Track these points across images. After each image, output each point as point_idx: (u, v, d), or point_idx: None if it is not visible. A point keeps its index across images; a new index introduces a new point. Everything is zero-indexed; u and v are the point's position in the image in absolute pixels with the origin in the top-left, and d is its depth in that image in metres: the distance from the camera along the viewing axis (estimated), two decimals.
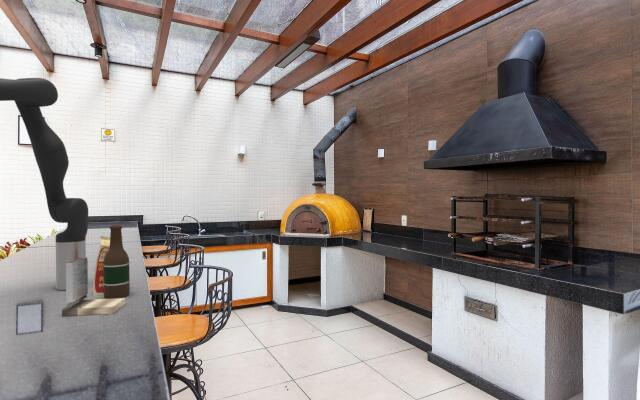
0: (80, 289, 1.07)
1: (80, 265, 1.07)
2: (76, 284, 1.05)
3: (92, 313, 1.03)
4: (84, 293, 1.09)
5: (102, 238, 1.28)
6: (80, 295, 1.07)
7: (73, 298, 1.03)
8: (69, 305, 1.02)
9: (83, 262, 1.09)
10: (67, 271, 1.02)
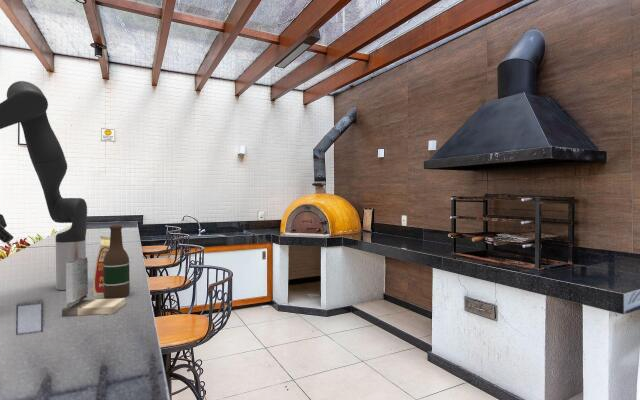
0: (80, 289, 1.07)
1: (80, 265, 1.07)
2: (76, 284, 1.05)
3: (92, 313, 1.03)
4: (84, 293, 1.09)
5: (102, 238, 1.28)
6: (80, 295, 1.07)
7: (73, 298, 1.03)
8: (69, 305, 1.02)
9: (83, 262, 1.09)
10: (67, 271, 1.02)
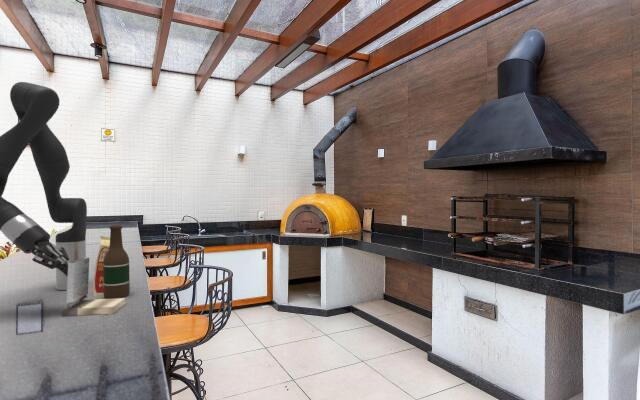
0: (81, 289, 1.07)
1: (82, 265, 1.07)
2: (77, 284, 1.05)
3: (92, 313, 1.03)
4: (84, 293, 1.09)
5: (102, 238, 1.28)
6: (80, 295, 1.07)
7: (73, 298, 1.03)
8: (69, 305, 1.02)
9: (85, 262, 1.09)
10: (69, 271, 1.02)
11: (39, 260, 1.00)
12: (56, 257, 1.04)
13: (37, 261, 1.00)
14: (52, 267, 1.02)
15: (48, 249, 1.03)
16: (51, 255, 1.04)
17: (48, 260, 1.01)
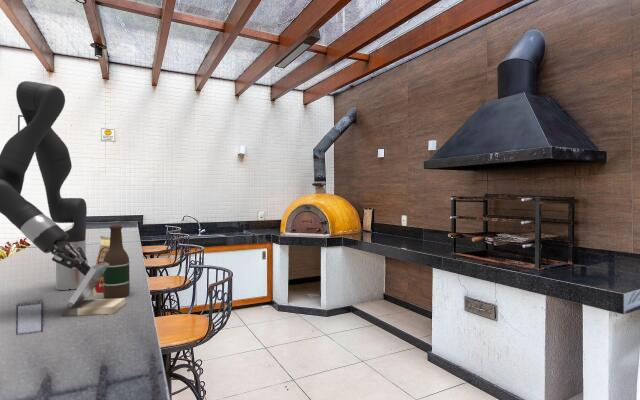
0: (86, 292, 1.07)
1: (100, 271, 1.08)
2: (86, 288, 1.05)
3: (92, 313, 1.03)
4: (86, 295, 1.09)
5: (102, 238, 1.28)
6: (83, 297, 1.07)
7: (76, 300, 1.03)
8: (69, 305, 1.02)
9: (104, 269, 1.10)
10: (87, 275, 1.03)
11: (58, 260, 1.01)
12: (74, 257, 1.05)
13: (56, 261, 1.00)
14: (71, 267, 1.03)
15: (67, 249, 1.04)
16: (69, 255, 1.04)
17: (67, 260, 1.02)
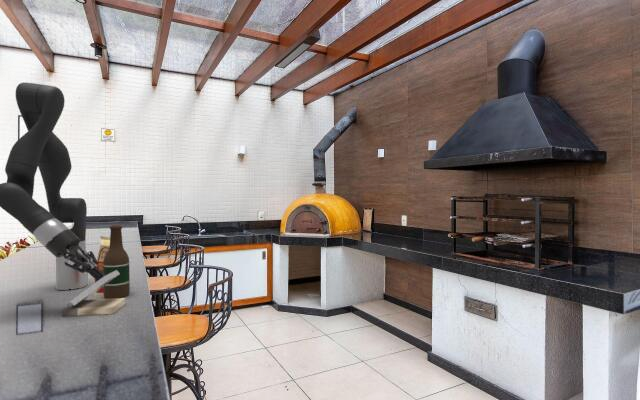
0: (89, 295, 1.07)
1: (109, 280, 1.08)
2: (91, 293, 1.05)
3: (92, 313, 1.03)
4: (87, 297, 1.09)
5: (102, 238, 1.28)
6: (83, 299, 1.07)
7: (77, 302, 1.03)
8: (69, 305, 1.02)
9: (113, 278, 1.10)
10: (97, 282, 1.03)
11: (71, 264, 1.01)
12: (86, 261, 1.05)
13: (69, 265, 1.01)
14: (83, 271, 1.04)
15: (79, 253, 1.05)
16: (82, 259, 1.05)
17: (79, 264, 1.02)
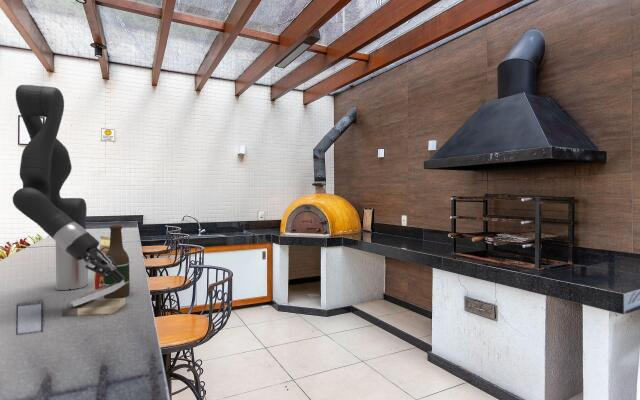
0: None
1: None
2: None
3: (92, 313, 1.03)
4: None
5: (102, 238, 1.28)
6: None
7: (77, 304, 1.03)
8: (69, 305, 1.02)
9: None
10: (103, 290, 1.04)
11: (92, 267, 1.02)
12: (106, 264, 1.06)
13: (90, 268, 1.02)
14: (103, 274, 1.05)
15: (98, 256, 1.06)
16: (101, 262, 1.06)
17: (100, 267, 1.03)
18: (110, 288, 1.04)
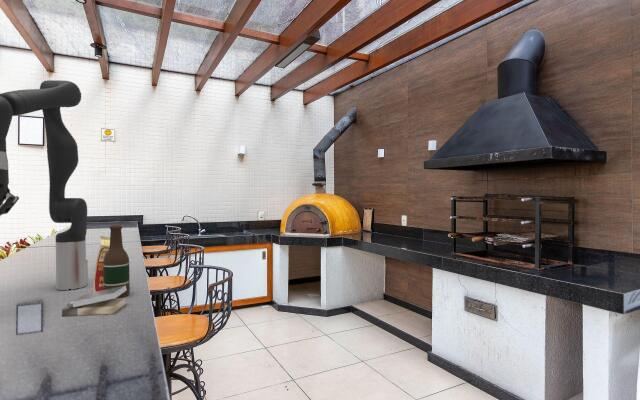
0: None
1: None
2: None
3: (92, 313, 1.03)
4: None
5: (102, 238, 1.28)
6: None
7: (77, 306, 1.03)
8: (69, 305, 1.02)
9: None
10: (105, 296, 1.04)
11: (13, 201, 1.02)
12: None
13: (12, 201, 1.02)
14: (2, 213, 1.01)
15: None
16: None
17: (11, 206, 1.03)
18: (112, 294, 1.04)
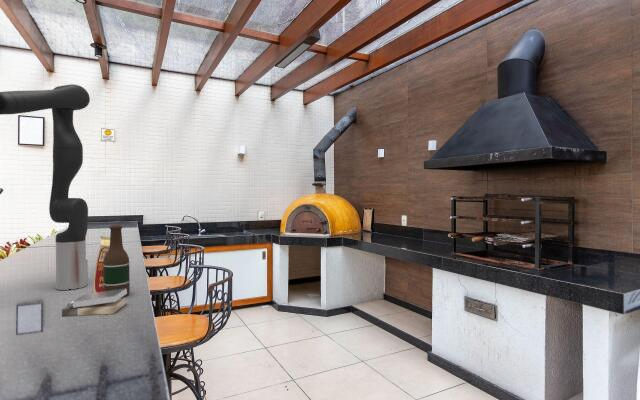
0: None
1: None
2: None
3: (92, 313, 1.03)
4: None
5: (102, 238, 1.28)
6: None
7: (77, 306, 1.03)
8: (69, 305, 1.02)
9: None
10: (105, 298, 1.04)
11: None
12: None
13: None
14: None
15: None
16: None
17: None
18: (113, 297, 1.04)
